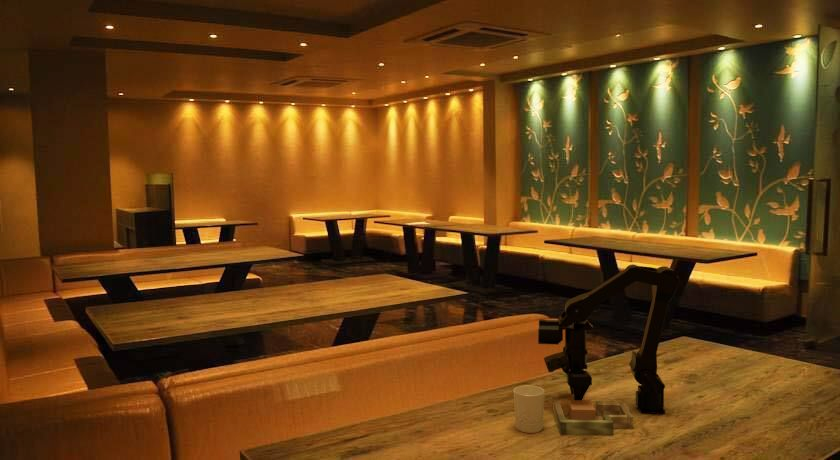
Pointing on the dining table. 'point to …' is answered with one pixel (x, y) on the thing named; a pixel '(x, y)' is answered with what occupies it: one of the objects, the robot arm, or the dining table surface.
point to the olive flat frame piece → (612, 418)
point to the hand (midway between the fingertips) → (575, 399)
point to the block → (581, 410)
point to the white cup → (529, 408)
